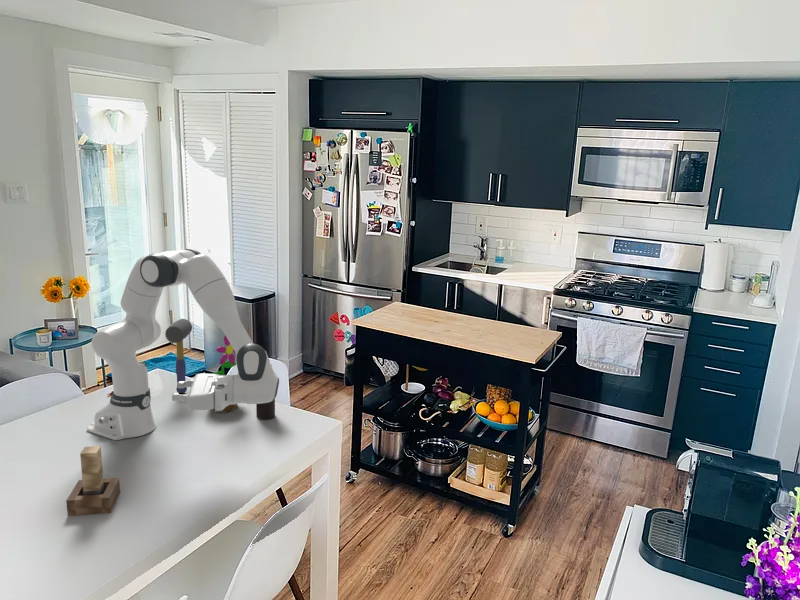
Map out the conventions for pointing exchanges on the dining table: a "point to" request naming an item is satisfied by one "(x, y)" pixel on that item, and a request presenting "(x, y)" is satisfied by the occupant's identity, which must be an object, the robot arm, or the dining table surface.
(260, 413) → the bottle
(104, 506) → the wooden square ring
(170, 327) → the rubber mallet
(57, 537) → the dining table surface
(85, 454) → the light wooden block
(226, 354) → the flowerpot
